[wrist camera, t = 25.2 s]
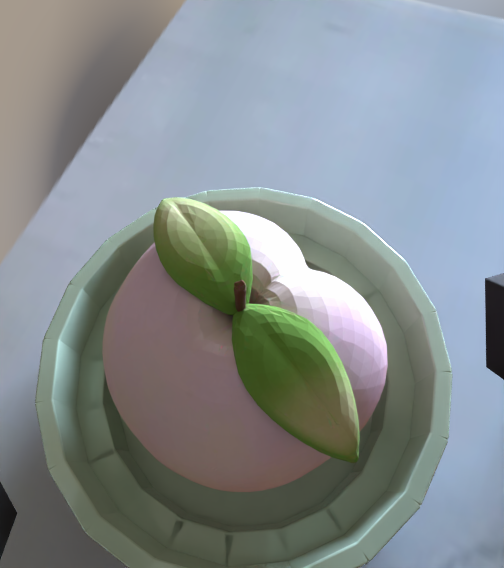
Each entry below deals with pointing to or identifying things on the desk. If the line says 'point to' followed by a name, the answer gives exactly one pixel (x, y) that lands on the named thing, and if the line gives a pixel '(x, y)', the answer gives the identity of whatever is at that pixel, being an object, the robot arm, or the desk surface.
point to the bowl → (258, 504)
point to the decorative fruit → (239, 352)
